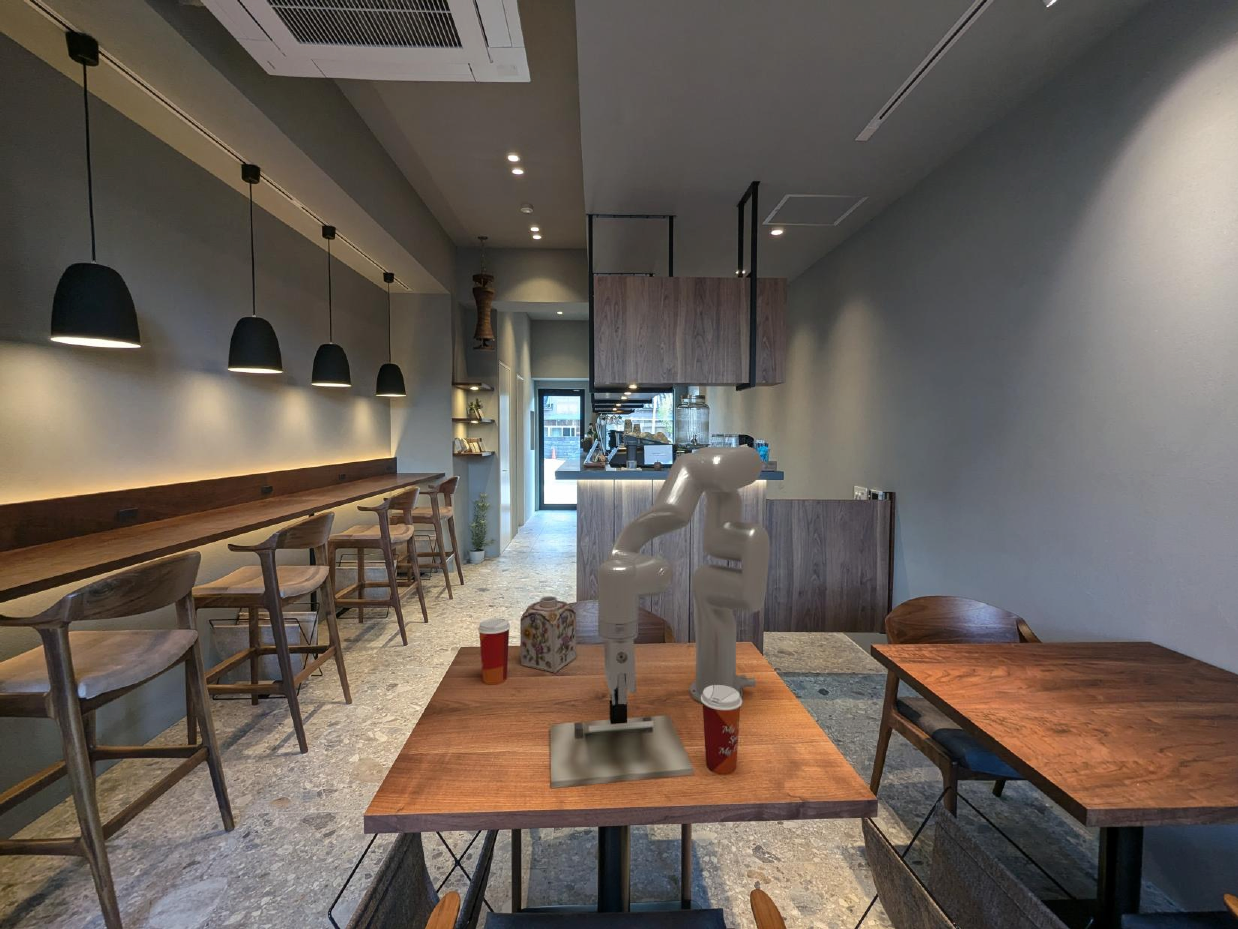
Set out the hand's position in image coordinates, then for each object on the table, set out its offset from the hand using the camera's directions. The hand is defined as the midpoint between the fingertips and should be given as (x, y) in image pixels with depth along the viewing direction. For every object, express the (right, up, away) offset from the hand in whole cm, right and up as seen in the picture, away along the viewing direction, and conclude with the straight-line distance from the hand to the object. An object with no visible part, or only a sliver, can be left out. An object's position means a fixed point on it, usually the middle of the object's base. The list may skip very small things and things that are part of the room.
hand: (618, 721), depth 99 cm
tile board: (0, -8, +4) cm, 9 cm away
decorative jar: (-19, -6, +46) cm, 51 cm away
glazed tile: (-1, -6, +8) cm, 10 cm away
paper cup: (+19, -8, -1) cm, 21 cm away
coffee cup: (-32, -7, +35) cm, 48 cm away
